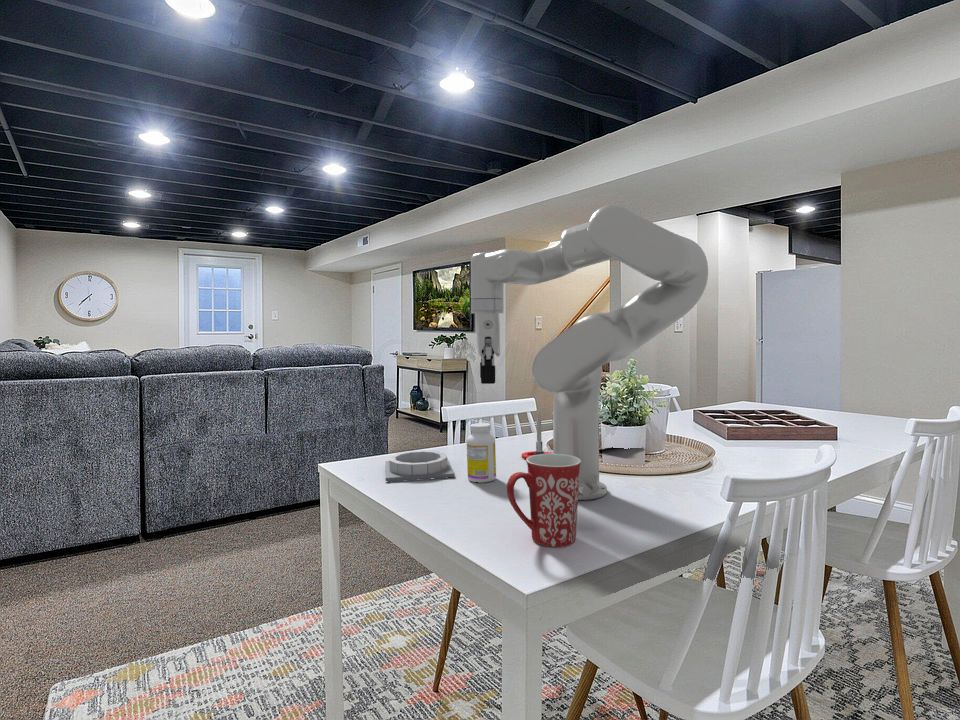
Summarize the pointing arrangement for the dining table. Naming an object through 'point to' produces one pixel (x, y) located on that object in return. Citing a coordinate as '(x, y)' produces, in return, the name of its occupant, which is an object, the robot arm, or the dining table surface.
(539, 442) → the tow hook
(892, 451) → the dining table surface
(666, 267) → the robot arm
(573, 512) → the mug
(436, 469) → the ring block
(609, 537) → the dining table surface
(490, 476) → the supplement bottle
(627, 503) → the dining table surface
